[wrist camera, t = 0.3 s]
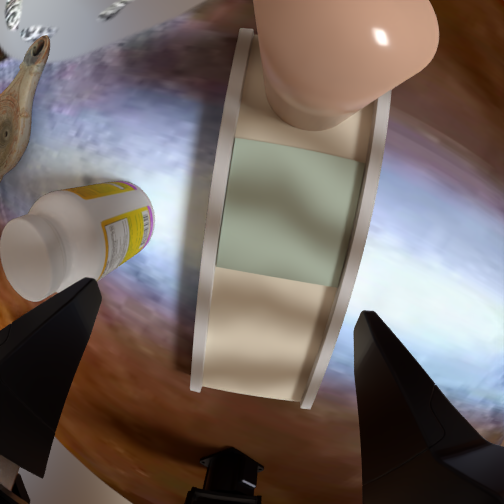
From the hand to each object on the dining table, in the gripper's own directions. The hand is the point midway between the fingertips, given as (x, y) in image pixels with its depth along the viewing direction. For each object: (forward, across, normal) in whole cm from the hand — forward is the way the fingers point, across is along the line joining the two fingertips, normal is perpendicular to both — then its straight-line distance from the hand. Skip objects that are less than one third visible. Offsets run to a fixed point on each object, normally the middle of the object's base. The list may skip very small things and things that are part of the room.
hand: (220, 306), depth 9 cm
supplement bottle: (+14, +11, +5) cm, 19 cm away
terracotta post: (+17, -4, -6) cm, 18 cm away
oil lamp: (+17, +27, -3) cm, 32 cm away
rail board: (+14, -3, +6) cm, 15 cm away
